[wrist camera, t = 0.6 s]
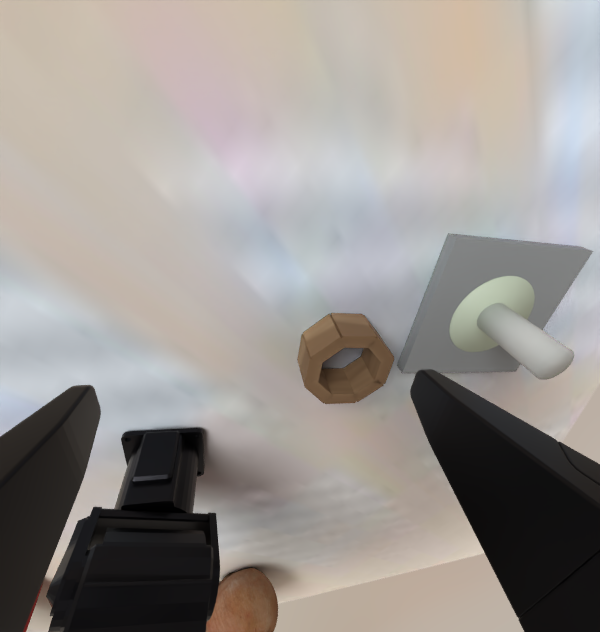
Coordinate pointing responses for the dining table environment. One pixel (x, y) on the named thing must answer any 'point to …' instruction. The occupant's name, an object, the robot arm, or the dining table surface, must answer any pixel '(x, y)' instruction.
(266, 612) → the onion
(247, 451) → the dining table surface
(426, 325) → the post board
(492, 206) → the dining table surface
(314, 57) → the dining table surface
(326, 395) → the ring
